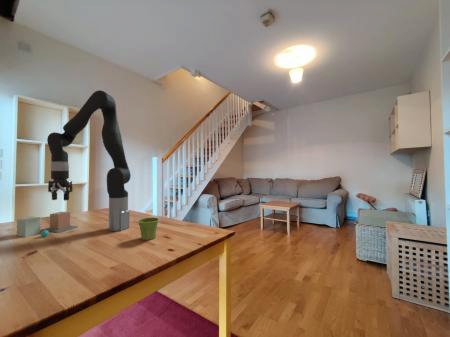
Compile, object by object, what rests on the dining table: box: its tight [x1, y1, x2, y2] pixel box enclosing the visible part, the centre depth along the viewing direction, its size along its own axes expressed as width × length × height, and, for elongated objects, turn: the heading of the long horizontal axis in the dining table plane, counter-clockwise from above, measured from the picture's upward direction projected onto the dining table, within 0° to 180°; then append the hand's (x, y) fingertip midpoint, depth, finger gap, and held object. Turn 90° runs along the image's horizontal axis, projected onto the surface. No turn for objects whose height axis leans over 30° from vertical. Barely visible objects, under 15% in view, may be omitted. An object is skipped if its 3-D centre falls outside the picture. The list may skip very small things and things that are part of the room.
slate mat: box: [40, 224, 78, 234], centre depth 107 cm, size 12×10×1 cm
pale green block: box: [16, 216, 41, 238], centre depth 98 cm, size 6×6×8 cm
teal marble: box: [40, 230, 50, 238], centre depth 95 cm, size 3×3×3 cm
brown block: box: [49, 211, 71, 230], centre depth 107 cm, size 6×6×8 cm
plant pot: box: [137, 217, 160, 241], centre depth 94 cm, size 9×9×9 cm
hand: (60, 200), depth 107 cm, fingers open, 8 cm apart
